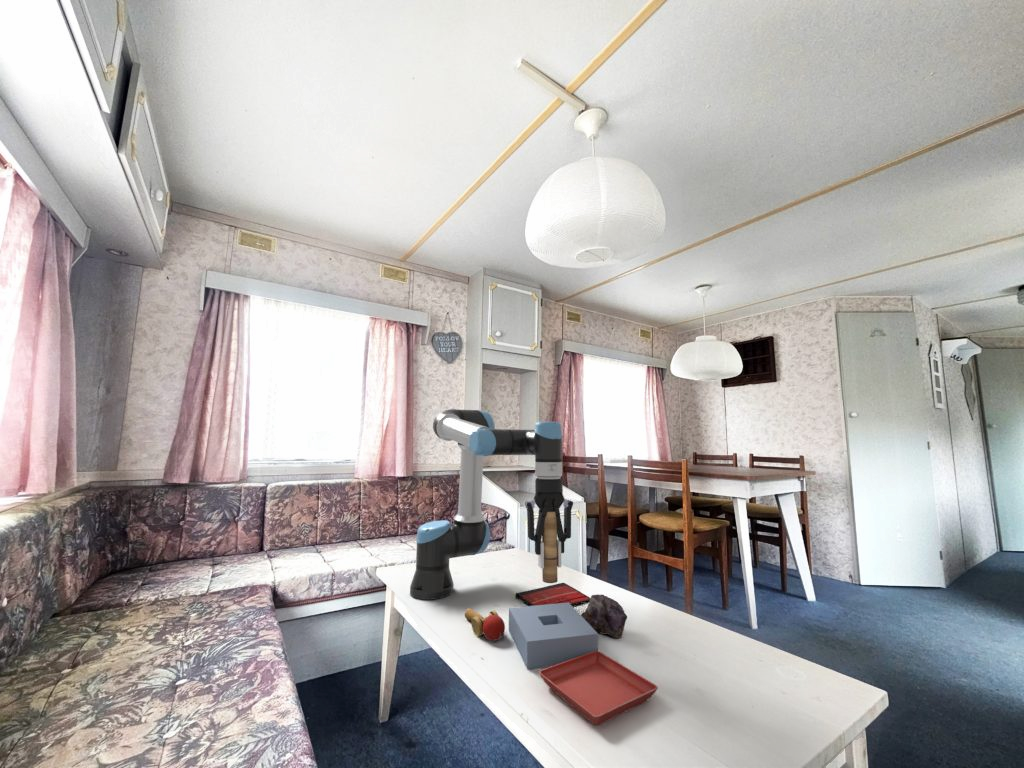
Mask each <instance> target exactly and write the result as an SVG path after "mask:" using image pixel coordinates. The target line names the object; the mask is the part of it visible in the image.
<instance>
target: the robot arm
mask: <svg viewBox="0 0 1024 768" xmlns="http://www.w3.org/2000/svg"><path fill="white" fill-rule="evenodd" d="M432 429H433V432H434V434H435V435H436V436H437V437H438V438H439V439H441V440H443V441H446V442H450V441H453V442H456V443H457V446H458V447H459V448H460V449H461V450H460V467H459V468H460V469H459V486H458V487H459V489H458V505H457V506H458V508H457V510H458V511H457V514H456V515H454V516H453V523H451V522H450V521H449V520H444V519H442V520H432V521H429V522H426V523H424V524H422V525H420V526H419V527H418V529H417V532H416V533H417V536H416V539H415V541H416V551H415V553H416V558H415V559H416V560H415V561H416V562H415V570H414V571H415V572H414V575H413V578H412V580H411V582H410V586H409V588H410V589H409V594H410V596H411V597H412V598H415V599H418V600H438V599H442V598H446V597H448V596H450V595H452V594H453V593H454V589H455V588H454V587H455V586H454V580H453V577H452V573H451V571H450V559H454V558H460V557H461V558H462V557H466V556H475V555H478V554H481V553H483V552H484V551H486V550H487V548H488V546H489V543H490V539H491V531H490V525H489V524H488V522H487V521H486V520H485V517H484V515H482V498H483V497H482V495H483V493H482V492H483V475H484V474H483V472H484V457H489V456H491V457H492V456H535V457H534V458H535V459H534V460H535V463H534V469H535V470H534V471H535V472H534V473H535V474H534V475H535V477H536V478H535V481H534V483H535V485H534V488H535V491H534V492H535V493H534V497H533V499H531V500H529V501H528V500H527V501H525V502H524V505H525V508H526V516H527V520H526V521H527V522H526V523H527V538H528V539H529V540H530V541H533V542H534V552H535V555H537V556H538V558H537V559H538V563H537V564H538V565H537V566H538V567H539V568H540V569H541V570H542V569H544V543H543V542H542V533H543V528H544V522H545V517H546V515H547V512H555V513H556V520H557V556H558V559H557V568H562V554H565V542H566V540H568V539H571V538H572V509H573V505H574V501H572V500H570V499H566V498H565V496H564V494H563V492H564V491H563V489H564V486H563V485H564V483H563V479H562V478H561V477H562V476H563V435H562V433H563V432H562V424H561V423H560V422H558V421H537V422H535V425H534V429H512V428H511V429H508V428H507V429H506V428H503V429H501V428H496V427H495V422H494V418H493V416H492V415H491V414H490V413H489V411H485V410H479V409H455V408H451V409H446V410H444V411H443V410H442V411H441V412H440V413H438V414H437V415H436V416H435V418H434V420H433V422H432ZM535 505H536V506H537V508H538V517H537V522H536V527H535V511H534V509H535ZM562 505H563V507H564V509H563V524H562V519H561V513H560V512H561V510H560V508H561V506H562Z"/></svg>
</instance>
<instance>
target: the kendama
mask: <svg viewBox="0 0 1024 768" xmlns="http://www.w3.org/2000/svg"><path fill="white" fill-rule="evenodd" d="M464 618H465V619H466V620H468V621H471V629H472V630H473V633H474V635H475V636H476V637H481V636H483V634H484V636H485V638H486V639H487V640H489V641H499V640H501V638H502V637H503V636H504V633H505V630H506V629H505V628H506V625H505V622H504V620H503V618H502V617H501V616H499V614H498V613H497V611H496V610H490V612H489V614H488V615H487V616H485V617H484V616H482V615H481V614H480V613H479V612H477V611H475V610H474V609H472V608H467V609H466V610H465V612H464Z"/></svg>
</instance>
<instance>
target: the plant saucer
mask: <svg viewBox="0 0 1024 768" xmlns="http://www.w3.org/2000/svg"><path fill="white" fill-rule="evenodd" d="M538 673H539V676H540V677H541V678H542V680H543V681H544V683H545V684H546V685H547V686H548V688H549V689H551V691H553V692H554V693H555V694H557V695H558V696H559V697H561V698H562V700H564V701H565V702H566V703H568V704H569V705H570V706H571V707H573V708H574V709H575V710H576V711H577V712H578V713H580V714H581V715H582V716H583V717H585V718H586V719H587V720H588V721H590V722H591V723H592V724H593V725H596V726H599V725H601V724H603V723H605V722H607V721H609V720H612V719H613V718H615V717H617V716H619V715H621V714H623V713H625V712H627V711H630V710H631V709H633V708H635V707H637V706H640V705H642V704H644V703H646V702H647V701H648V700H649V699H650V698H651V697H652V696H654V694H655V693H656V692H657V691H658V689H659V687H658V686H657V685H656V684H655V683H654V682H652V681H649V680H648V679H646V678H644V677H643V676H641V675H640V674H638V673H636V672H635V671H634V670H631V669H630V668H628V667H627V666H625V665H623V664H621V663H619V662H618V661H616V660H614V659H613V658H612V657H610V656H607V654H605V653H603V652H601V651H599V650H598V651H593V652H591V653H588V654H585V655H582V656H579V657H577V658H574V659H571V660H568V661H565V662H562V663H560V664H557V665H554V666H549V667H545V668H542V669H541V670H539V671H538Z"/></svg>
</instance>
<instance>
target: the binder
mask: <svg viewBox="0 0 1024 768" xmlns="http://www.w3.org/2000/svg"><path fill="white" fill-rule="evenodd" d="M520 598H521V599H522V600H523V601H524V602H523V604H525V605H526V606H535V605H546V604H557V603H568V602H569V603H570V604H571V605H573V606H576V605H581V604H589V601H590V599H591V596H588V595H587V594H584V593H583V592H581V591H580V590H579V589H576V588H574V587H573V586H570V585H569V584H567V583H566V582H559V583H554V584H552V585H547V586H543V587H538V588H534V589H529V590H523V591H521V592H516V593H515V599H520ZM580 603H581V604H580Z"/></svg>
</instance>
